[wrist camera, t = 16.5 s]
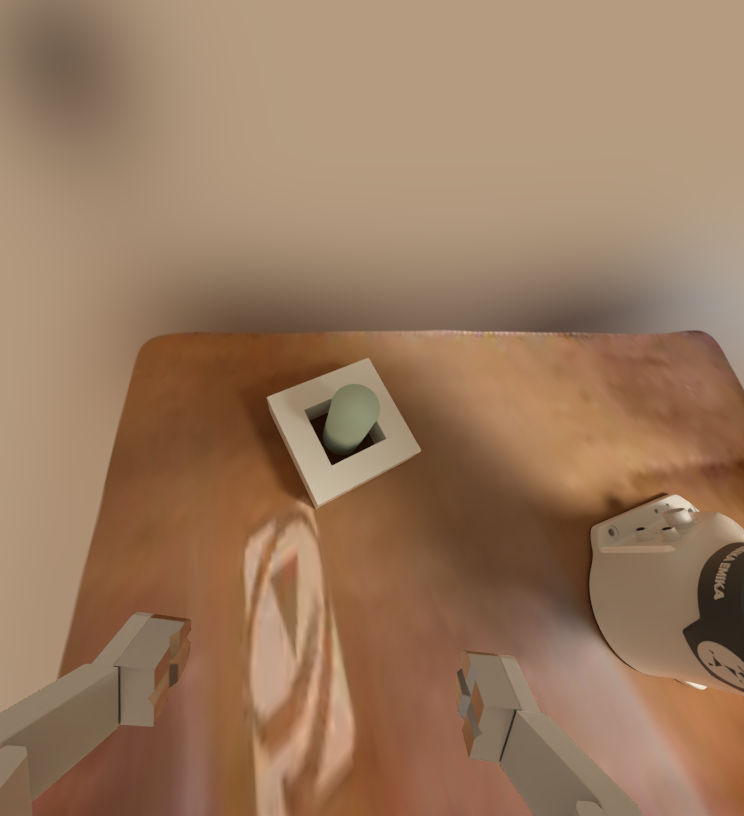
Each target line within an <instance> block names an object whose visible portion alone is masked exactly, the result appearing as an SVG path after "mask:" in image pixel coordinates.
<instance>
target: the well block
mask: <svg viewBox="0 0 744 816" xmlns="http://www.w3.org/2000/svg"><path fill="white" fill-rule="evenodd" d="M349 384H360V385H363V386H365V387H367V388H369V389H370V390H372V391H373V392H374V394H375V395H376V396H377V398H378V400H379V403H380V414H379V417H378V419H377V420H376V422H375V423H374V425H373V426H372V428H371V429H370V430H369V432H368V433H369V435H370V437H371V438H372V440H373V442H374V444H375V445H373V446H371V447H369V448H367V449H365V450H362V451H360V452H358V453H356V454H354V455H352V456H350V457H348V458H346V459H344V460H342V461H340V462H338V463H336V464H334V465H331V463H330V461H329V459H328V457H327V455H326V453H325V451H324V449H323V447H322V445H321V443H320V441H319V439H318V437H317V435H316V433H315V431H314V429H313V427H312V425H311V423H310V420H312V419H315V418H317V417H319V416H322V415H324V414H326V413H329V409H330V406H331V402H332V398H333V396H334V394H335V393H336V392H337V391H338V390H339V389H340V388H341V387H343V386H346V385H349ZM267 401H268V406H269V411H270V414H271V416H272V418H273V420H274V422H275V424H276V427H277V429H278V431H279V433H280V435H281V437H282V439H283V441H284V444H285V446H286V448H287V450H288V452H289V454H290V456H291V458H292V460H293V463H294V465H295V467H296V469H297V471H298V473H299V475H300V477H301V480H302V482H303V484H304V486H305V488H306V490H307V492H308V494H309V497H310V499H311V501H312V503H313V505H314V507H315V509H317V508H319V507H321V506H323V505H324V504H326V503H328V502H330V501H332V500H334V499H336V498H338V497H340V496H341V495H343V494H345V493H347V492H349V491H351V490H353V489H355V488H356V487H358V486H360V485H362V484H364V483H366V482H368V481H370V480H372V479H373V478H375V477H377V476H379V475H381V474H383V473H385V472H387V471H389V470H390V469H392V468H394V467H396V466H398V465H400V464H402V463H404V462H405V461H407V460H409V459H411V458H412V457H413V456H415V455H416V454H418V453H419V452H421V449H420V447H419V445H418V444H417V442H416V440H415V438H414V437H413V435H412V433H411V431H410V430H409V428H408V426H407V424H406V423H405V421H404V419H403V417H402V415H401V414H400V412H399V410H398V408H397V407H396V405H395V403H394V401H393V400H392V398H391V396H390V394H389V393H388V391H387V389H386V387H385V386H384V384H383V382H382V380H381V379H380V377H379V375H378V373H377V372H376V370H375V368H374V366H373V365H372V363H371V361H370V359H369V358H366V359H363V360H361V361H358V362H356V363H353V364H351V365H348V366H345V367H343V368H340V369H338V370H335V371H332V372H330V373H327V374H325V375H322V376H320V377H317V378H314V379H312V380H309V381H307V382H304V383H302V384H299V385H296V386H294V387H291V388H289V389H286V390H284V391H281V392H278V393H276V394H273V395H271V396H268V397H267Z"/></svg>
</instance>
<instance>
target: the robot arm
mask: <svg viewBox="0 0 744 816" xmlns="http://www.w3.org/2000/svg"><path fill="white" fill-rule="evenodd" d="M609 532H610V534H609ZM591 544H592V550H593V560H592V566H591V571H590V581H589V587H590V598H591V604H592V608H593V612H594V615H595V618H596V620H597V623H598V625H599V628H600V630H601V632H602V634H603V635H604V637H605V639H606V640H607V642H608V643H609V645H610V646H611V648H612V649H613V650H614V651H615V653H616V654H617V655H618V656H619V657H620V658H621V659H622V660H623V661H624V662H626V663H627V664H628V665H630V666H631V667H632V668H634V669H636V670H637V671H639V672H642V673H644V674H647V675H651V676H658V677H667V678H673V679H676V680H678V681H680V682H681V683H683V684H685V685H687V686H689V687H693V688H696V689H701V690H703V689H706V688H707V687H710V688H714V689H718V690H722V691H726V692H730V693H734V694H738V695H742V696H744V529H743V528H742V527H741V526H740V525H738V524H737V523H736V522H735V521H733V520H732V519H730V518H729V517H727V516H725V515H723V514H721V513H717V512H711V511H702V512H699V511H698V510H697V509H696V508H695V507H694V506H693V505H692V504H690V503H689V502H688V501H687V500H685V499H684V498H682V497H680V496H678V495H675V494H669V495H665V496H663V497H660V498H658V499H655V500H653V501H651V502H648V503H646V504H643V505H641V506H639V507H636V508H634V509H632V510H629V511H627V512H624V513H622V514H620V515H617V516H615V517H613V518H610V519H608V520H605V521H603V522H601V523H598V524H596V525H594V526H593V527H592V529H591ZM190 630H191V620H190V619H186V618H179V617H173V616H166V615H159V614H150V613H143V612H137V613H135V614H134V615H132V616H131V617H130V618H129V619H128V621H127V622H126V623H125V624H124V625H123V627H122V628H121V629H120V630H119V631H118V633H117V634H116V635H115V636H114V637H113V639H112V640H111V641H110V642H109V643H108V645H107V646H106V647H105V648H104V649H103V651H102V652H101V653H100V654H99V655H98V657H97V658H96V659H95V660H94V661H93V663H92V664H84V665H82V666H81V667H79V668H77V669H75V670H74V671H72V672H70V673H68V674H67V675H65V676H63V677H62V678H60V679H58V680H56V681H55V682H53V683H51V684H50V685H48V686H46V687H44V688H43V689H41V690H39V691H37V692H36V693H34V694H32V695H31V696H29V697H27V698H25V699H24V700H22V701H20V702H18V703H17V704H15V705H13V706H12V707H10V708H8V709H6V710H5V711H3V712H1V713H0V816H33V814H32V803H31V802H33V801H34V800H35V799H36V798H37V797H38V796H40V795H41V794H42V793H43V792H44V791H45V790H46V789H48V788H49V787H50V786H51V785H52V784H53V783H54V782H56V781H57V780H58V779H59V778H60V777H61V776H63V775H64V774H65V773H66V772H67V771H68V770H69V769H71V768H72V767H73V766H74V765H75V764H76V763H78V762H79V761H80V760H81V759H82V758H83V757H84V756H86V755H87V754H88V753H89V752H90V751H91V750H92V749H94V748H95V747H96V746H97V745H98V744H99V743H101V742H102V741H103V740H104V739H105V738H106V737H107V736H109V735H110V734H111V733H112V732H113V731H114V730H115V729H117V728H118V726H119V724H121V725H136V726H151V727H153V726H154V725H155V723H156V721H157V719H158V717H159V715H160V714H161V712H162V710H163V708H164V706H165V704H166V703H167V701H168V697H169V688H170V687H172V686H173V685H174V684H176V683H177V682H178V681H179V679H180V677H181V675H182V673H183V671H184V668H185V665H186V663H187V660H188V656H189V652H190V641H189V640H188V638H187V636H188V634H189V632H190ZM460 663H461V667H462V668H461V669H460V670H459V671H458V672H457V673H456V678H455V690H454V693H455V702H456V706H457V711H458V713H459V714H460V716H461V717H462V718H463V719H464V725H463V728H462V732H463V736H464V740H465V744H466V748H467V752H468V756H469V759H475V760H482V761H490V762H497V763H500V766H501V767H502V769H503V770H504V772H505V773H506V775H507V776H508V778H509V779H510V781H511V782H512V784H513V785H514V787H515V788H516V790H517V791H518V793H519V794H520V796H521V797H522V798H523V800H524V801H525V803H526V804H527V806H528V807H529V809H530V810H531V812H532V813H533V815H534V816H644V815H643V814H642V812H641V810H640V808H639V807H638V805H637V804H636V803H635V802H634V801H633V800H632V799H631V798H630V797H629V796H628V795H627V794H626V793H625V792H624V791H623V790H622V789H621V788H620V787H619V786H618V785H617V784H616V783H615V782H614V781H613V780H612V779H611V778H610V777H609V776H608V775H607V774H606V773H605V772H604V771H603V770H602V769H601V768H600V767H599V766H598V765H597V764H596V763H595V762H594V761H593V760H592V759H591V758H590V757H589V756H588V755H587V754H586V753H585V752H584V751H583V750H582V749H581V748H580V747H579V746H578V745H577V744H576V743H575V742H574V741H573V740H572V739H571V738H570V737H569V736H568V735H567V734H566V733H565V732H564V731H563V730H562V729H561V728H560V727H559V726H558V725H557V724H556V723H555V722H554V721H553V720H552V719H551V718H550V717H549V716H548V715H547V714H544V713H541V712H540V710H539V708H538V706H537V704H536V701H535V699H534V697H533V695H532V693H531V691H530V688H529V686H528V684H527V682H526V680H525V678H524V675H523V673H522V671H521V669H520V667H519V665H518V663H517V660H516V659H515V658H514V656H512V655H502V654H494V653H484V652H475V651H465V650H464V651H463V652H462V654H461V658H460Z"/></svg>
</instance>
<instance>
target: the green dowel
mask: <svg viewBox="0 0 744 816" xmlns="http://www.w3.org/2000/svg"><path fill="white" fill-rule="evenodd" d="M379 414H380V403H379V400H378V398H377V396H376V395H375V394H374V392H373V391H372V390H370V389H369V388H367V387H365V386H363V385H360V384H349V385H346V386H343V387H341V388H340V389H339V390H338V391H337V392H336V393H335V394H334V396H333V398H332V402H331V406H330V409H329V413H328V417H327V420H326V424H325V427H324V431H323V442H324V444H325V446H326V448H327V449H328V450H329V451H330V452H332V453H334V454H336V455H348V454H350V453H352V452H353V451H355V450H356V449H357V447H358V446H359V444H360V443H361V442H362V440H363V439H364V437H365V436H366V435H367V433H368V432H369V430H370V429H371V428H372V426H373V425H374V423H375V422H376V420H377V419H378V417H379Z"/></svg>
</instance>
